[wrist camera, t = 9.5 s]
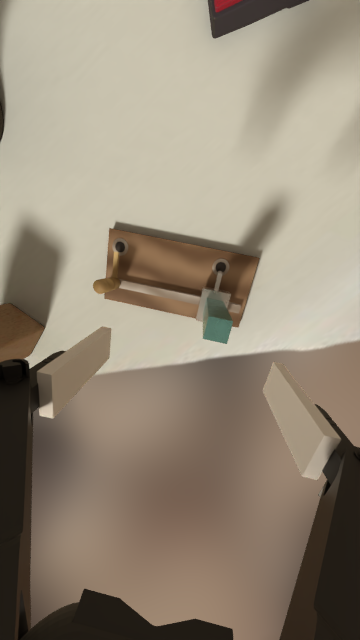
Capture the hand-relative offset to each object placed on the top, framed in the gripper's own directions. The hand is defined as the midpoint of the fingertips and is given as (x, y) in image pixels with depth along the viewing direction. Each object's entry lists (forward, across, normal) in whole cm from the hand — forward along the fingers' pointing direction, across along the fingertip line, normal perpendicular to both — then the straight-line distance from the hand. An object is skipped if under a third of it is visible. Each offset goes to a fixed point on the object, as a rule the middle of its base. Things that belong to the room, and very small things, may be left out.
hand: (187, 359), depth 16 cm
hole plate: (+27, -5, +3) cm, 27 cm away
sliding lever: (+25, +3, +2) cm, 25 cm away
